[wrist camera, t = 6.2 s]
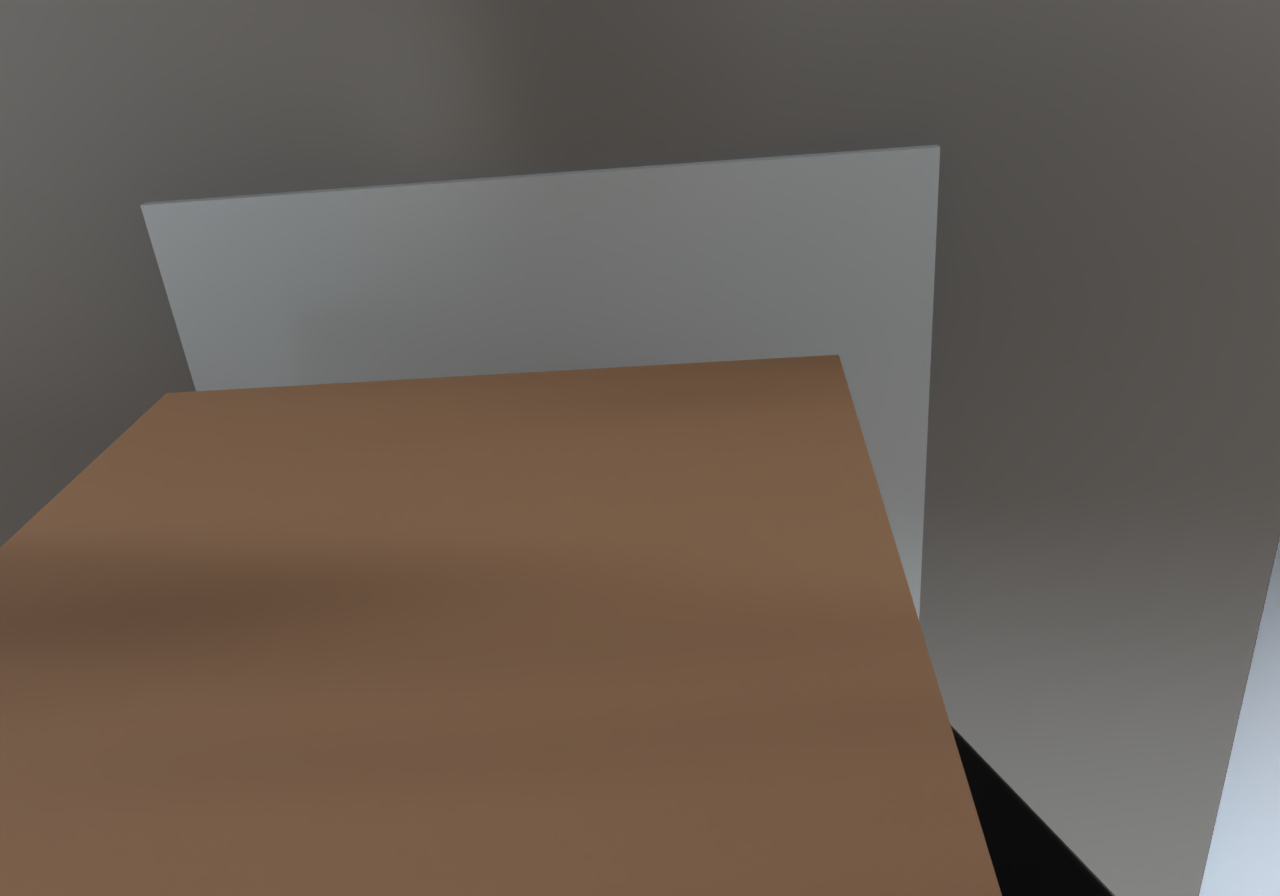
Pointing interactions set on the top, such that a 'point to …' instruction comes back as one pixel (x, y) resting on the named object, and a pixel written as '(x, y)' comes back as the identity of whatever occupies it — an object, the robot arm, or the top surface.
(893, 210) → the build plate
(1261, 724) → the top surface
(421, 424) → the base block
